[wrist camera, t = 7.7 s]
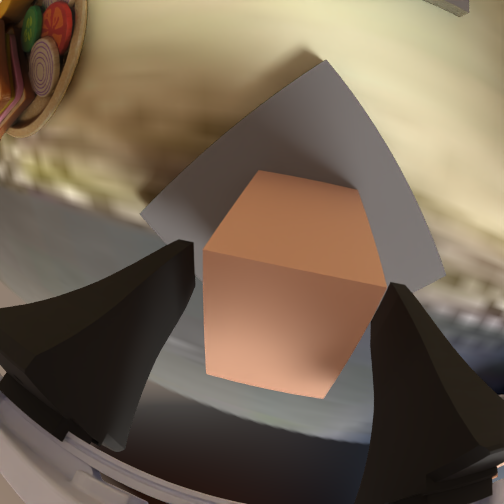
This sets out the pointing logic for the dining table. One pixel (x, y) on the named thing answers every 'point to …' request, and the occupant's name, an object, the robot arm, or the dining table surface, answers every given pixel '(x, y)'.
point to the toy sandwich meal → (37, 59)
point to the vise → (452, 6)
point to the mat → (304, 174)
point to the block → (289, 284)
